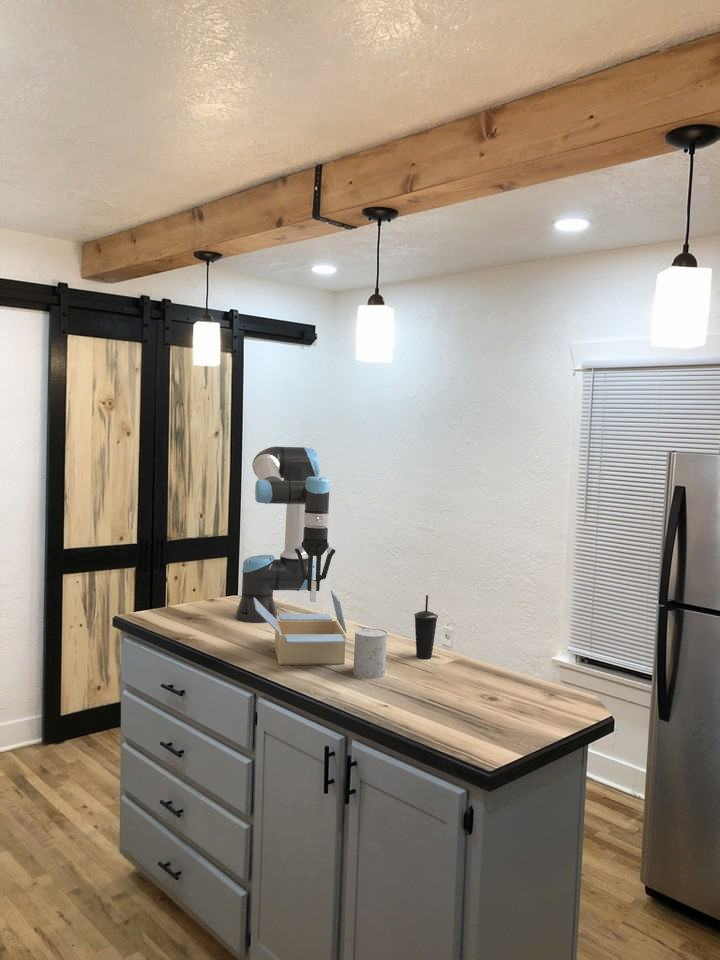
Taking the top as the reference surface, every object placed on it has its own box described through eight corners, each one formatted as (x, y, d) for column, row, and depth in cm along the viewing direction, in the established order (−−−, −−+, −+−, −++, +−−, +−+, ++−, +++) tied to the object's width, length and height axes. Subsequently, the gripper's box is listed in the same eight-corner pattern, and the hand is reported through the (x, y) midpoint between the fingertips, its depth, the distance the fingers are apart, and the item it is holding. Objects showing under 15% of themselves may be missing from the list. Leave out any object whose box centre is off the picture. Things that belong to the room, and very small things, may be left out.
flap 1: (275, 618, 246) (274, 619, 246) (254, 597, 244) (253, 598, 244) (279, 632, 229) (278, 633, 229) (256, 609, 228) (255, 610, 228)
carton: (272, 641, 255) (274, 613, 255) (332, 641, 259) (333, 613, 258) (280, 673, 221) (282, 641, 221) (348, 672, 225) (350, 641, 224)
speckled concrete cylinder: (386, 669, 230) (388, 629, 229) (384, 679, 220) (386, 637, 219) (354, 667, 231) (356, 627, 230) (351, 677, 221) (353, 635, 220)
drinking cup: (408, 657, 243) (411, 595, 242) (417, 652, 250) (420, 591, 249) (430, 662, 240) (433, 599, 239) (439, 656, 246) (442, 595, 245)
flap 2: (330, 590, 249) (331, 590, 249) (337, 619, 250) (338, 619, 250) (338, 601, 232) (339, 601, 232) (345, 633, 233) (346, 632, 233)
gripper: (296, 527, 233) (292, 603, 234) (338, 528, 235) (335, 604, 237) (293, 524, 240) (290, 598, 242) (334, 525, 243) (331, 598, 244)
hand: (312, 601), depth 239 cm, fingers closed
